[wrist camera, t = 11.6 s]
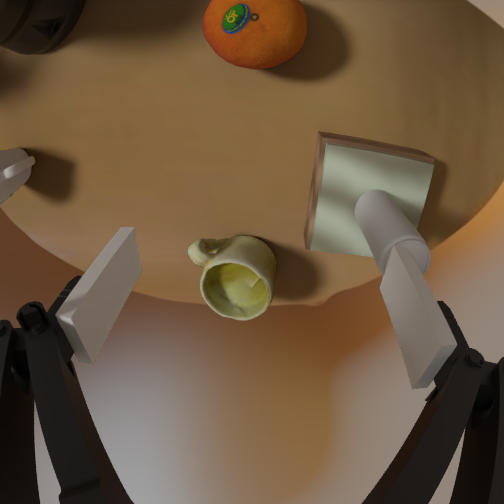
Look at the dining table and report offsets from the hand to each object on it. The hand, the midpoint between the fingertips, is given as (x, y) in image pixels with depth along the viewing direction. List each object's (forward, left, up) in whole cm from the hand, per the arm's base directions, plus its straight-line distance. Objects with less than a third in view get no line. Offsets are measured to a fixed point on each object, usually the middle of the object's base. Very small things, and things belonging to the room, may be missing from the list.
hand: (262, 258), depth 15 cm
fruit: (-15, -3, -25) cm, 29 cm away
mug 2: (+15, -4, -25) cm, 30 cm away
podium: (+4, +12, -25) cm, 28 cm away
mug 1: (+2, -40, -25) cm, 47 cm away
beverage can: (+4, +12, -20) cm, 24 cm away
